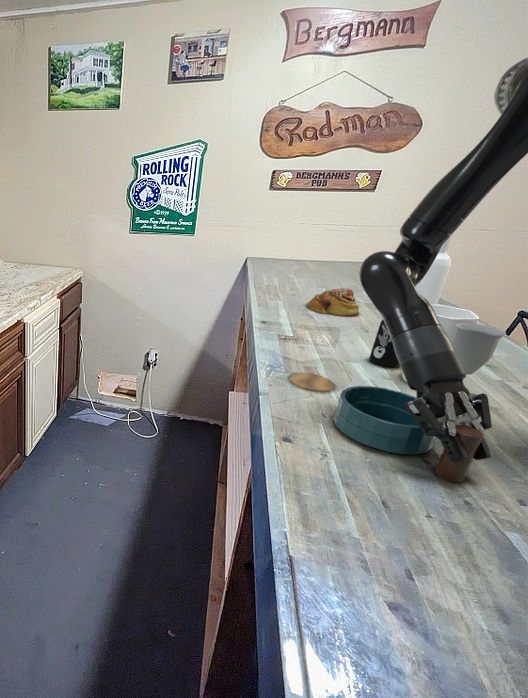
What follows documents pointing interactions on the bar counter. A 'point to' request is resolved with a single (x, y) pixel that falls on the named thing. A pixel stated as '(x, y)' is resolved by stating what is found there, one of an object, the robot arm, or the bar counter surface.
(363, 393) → the bowl
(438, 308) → the cup
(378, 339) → the beverage can
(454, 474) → the brown cylinder
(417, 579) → the bar counter surface
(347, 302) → the pastry
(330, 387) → the coaster
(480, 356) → the chalice
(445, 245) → the bottle
